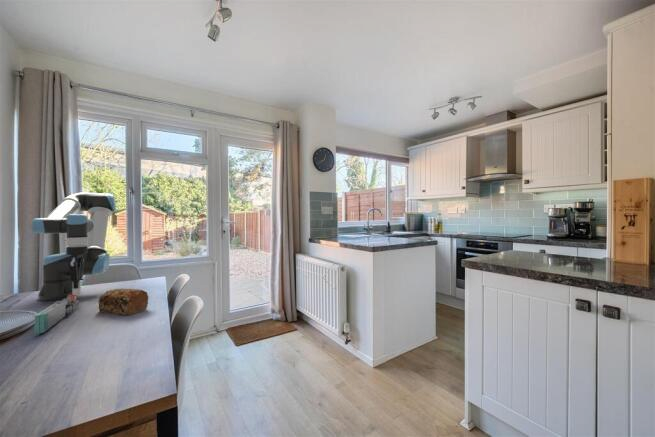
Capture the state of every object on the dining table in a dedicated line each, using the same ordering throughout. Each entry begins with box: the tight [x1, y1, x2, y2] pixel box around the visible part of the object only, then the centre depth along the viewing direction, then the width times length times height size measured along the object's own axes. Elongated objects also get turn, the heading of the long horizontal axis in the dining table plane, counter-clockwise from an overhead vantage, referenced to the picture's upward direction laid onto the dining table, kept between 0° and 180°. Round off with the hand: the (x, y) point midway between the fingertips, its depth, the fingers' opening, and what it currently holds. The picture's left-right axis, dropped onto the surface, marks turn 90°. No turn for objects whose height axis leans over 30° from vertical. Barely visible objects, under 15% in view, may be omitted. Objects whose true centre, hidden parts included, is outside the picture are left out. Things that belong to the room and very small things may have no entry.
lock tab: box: [67, 294, 77, 301], centre depth 123 cm, size 3×3×3 cm
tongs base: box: [34, 299, 80, 337], centre depth 111 cm, size 31×4×7 cm, turn 28°
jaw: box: [40, 298, 71, 334], centre depth 108 cm, size 23×2×7 cm, turn 27°
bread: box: [98, 288, 149, 316], centre depth 123 cm, size 19×11×10 cm, turn 71°
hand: (76, 294), depth 129 cm, fingers closed
